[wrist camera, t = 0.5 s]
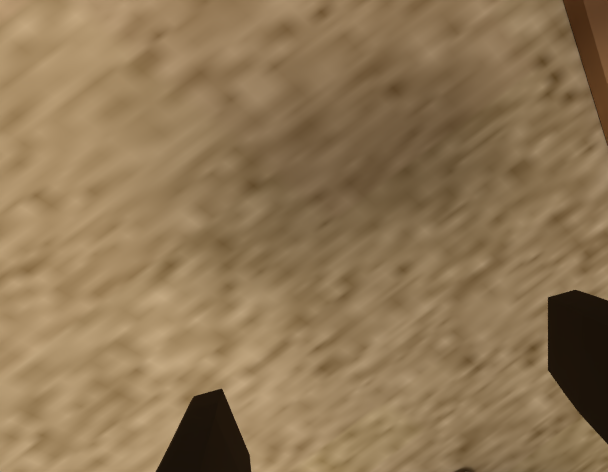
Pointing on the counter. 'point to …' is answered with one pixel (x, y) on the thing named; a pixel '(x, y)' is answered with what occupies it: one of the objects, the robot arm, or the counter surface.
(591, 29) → the rod base
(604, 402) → the robot arm
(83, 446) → the counter surface
